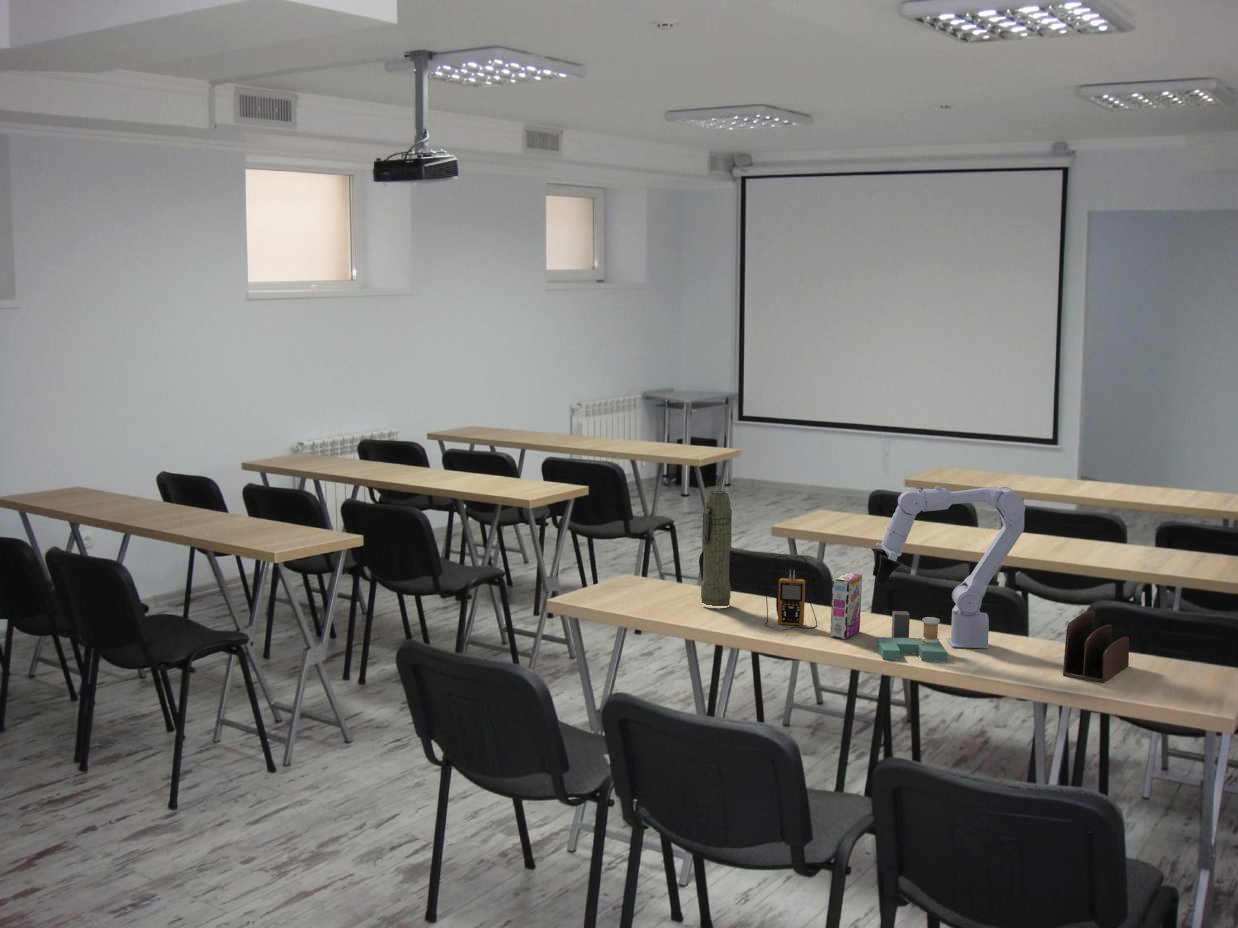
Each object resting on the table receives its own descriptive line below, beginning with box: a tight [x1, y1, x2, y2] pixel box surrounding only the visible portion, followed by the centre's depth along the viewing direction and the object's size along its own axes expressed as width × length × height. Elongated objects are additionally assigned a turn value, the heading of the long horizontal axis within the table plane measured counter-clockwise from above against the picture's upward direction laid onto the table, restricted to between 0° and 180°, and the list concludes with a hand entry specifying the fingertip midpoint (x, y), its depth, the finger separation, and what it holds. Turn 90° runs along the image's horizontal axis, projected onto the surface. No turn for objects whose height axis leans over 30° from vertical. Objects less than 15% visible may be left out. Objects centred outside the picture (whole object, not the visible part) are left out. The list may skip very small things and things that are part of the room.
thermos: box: [700, 490, 733, 606], centre depth 367 cm, size 9×12×35 cm
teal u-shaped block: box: [876, 616, 948, 662], centre depth 317 cm, size 16×13×8 cm
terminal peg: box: [891, 610, 911, 638], centre depth 329 cm, size 4×4×8 cm
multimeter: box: [764, 555, 818, 631], centre depth 342 cm, size 15×10×20 cm
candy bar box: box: [829, 572, 863, 640], centre depth 336 cm, size 11×5×16 cm, turn 149°
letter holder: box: [1062, 610, 1130, 684], centre depth 302 cm, size 10×20×14 cm, turn 141°
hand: (878, 579), depth 328 cm, fingers open, 7 cm apart
